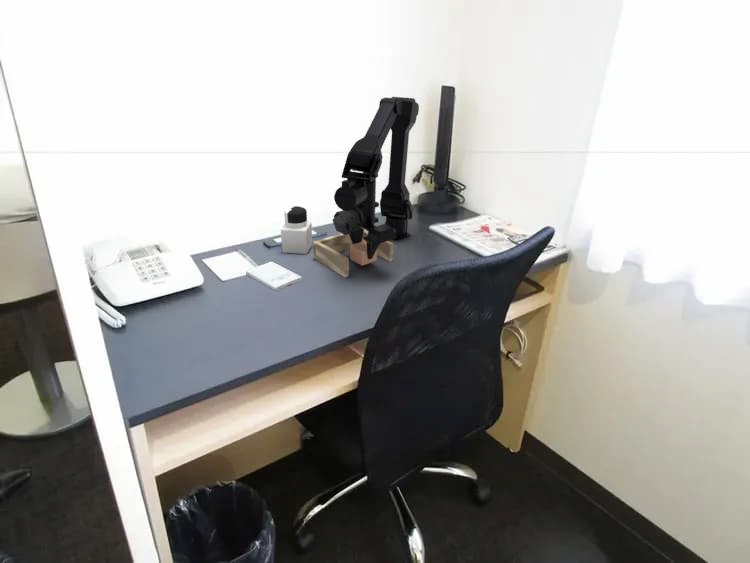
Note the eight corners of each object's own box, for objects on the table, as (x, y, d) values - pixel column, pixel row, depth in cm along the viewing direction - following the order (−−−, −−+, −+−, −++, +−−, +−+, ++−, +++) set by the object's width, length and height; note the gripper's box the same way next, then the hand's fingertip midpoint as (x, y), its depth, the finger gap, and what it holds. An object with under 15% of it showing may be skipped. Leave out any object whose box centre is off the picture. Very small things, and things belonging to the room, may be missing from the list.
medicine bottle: (312, 244, 140) (310, 204, 134) (307, 254, 134) (305, 213, 128) (288, 242, 140) (285, 203, 135) (282, 253, 134) (278, 212, 128)
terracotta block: (364, 254, 131) (364, 240, 129) (376, 260, 127) (377, 246, 125) (350, 259, 128) (350, 245, 126) (362, 265, 124) (362, 251, 123)
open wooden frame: (360, 243, 141) (360, 227, 138) (392, 260, 131) (393, 243, 129) (313, 258, 131) (312, 241, 129) (344, 277, 122) (344, 259, 119)
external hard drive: (272, 266, 128) (302, 281, 121) (246, 276, 123) (276, 293, 115) (272, 260, 127) (302, 276, 120) (245, 270, 122) (275, 287, 114)
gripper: (316, 195, 121) (318, 251, 129) (362, 215, 109) (361, 277, 116) (350, 187, 128) (351, 241, 135) (398, 206, 115) (395, 264, 123)
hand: (363, 255), depth 127 cm, fingers closed on terracotta block, 5 cm apart
